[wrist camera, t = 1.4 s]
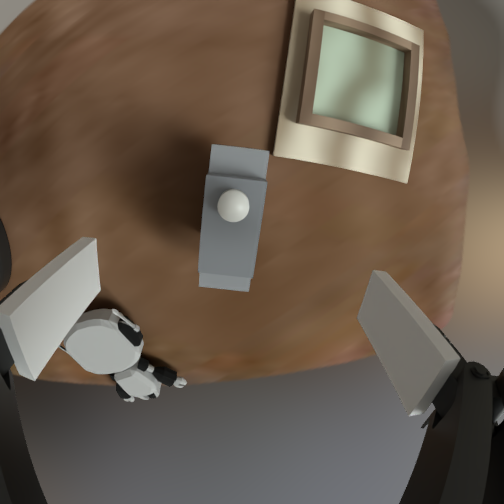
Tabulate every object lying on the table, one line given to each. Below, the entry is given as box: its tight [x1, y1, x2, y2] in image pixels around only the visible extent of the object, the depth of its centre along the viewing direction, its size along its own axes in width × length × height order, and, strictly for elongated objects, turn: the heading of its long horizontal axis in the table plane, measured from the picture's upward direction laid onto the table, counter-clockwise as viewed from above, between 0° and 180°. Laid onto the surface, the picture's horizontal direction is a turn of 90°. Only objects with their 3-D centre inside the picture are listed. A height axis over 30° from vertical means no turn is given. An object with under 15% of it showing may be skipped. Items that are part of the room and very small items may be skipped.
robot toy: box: [58, 309, 187, 402], centre depth 32 cm, size 12×4×15 cm
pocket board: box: [273, 0, 423, 183], centre depth 22 cm, size 14×18×2 cm
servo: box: [198, 144, 270, 292], centre depth 23 cm, size 4×11×9 cm, turn 172°
